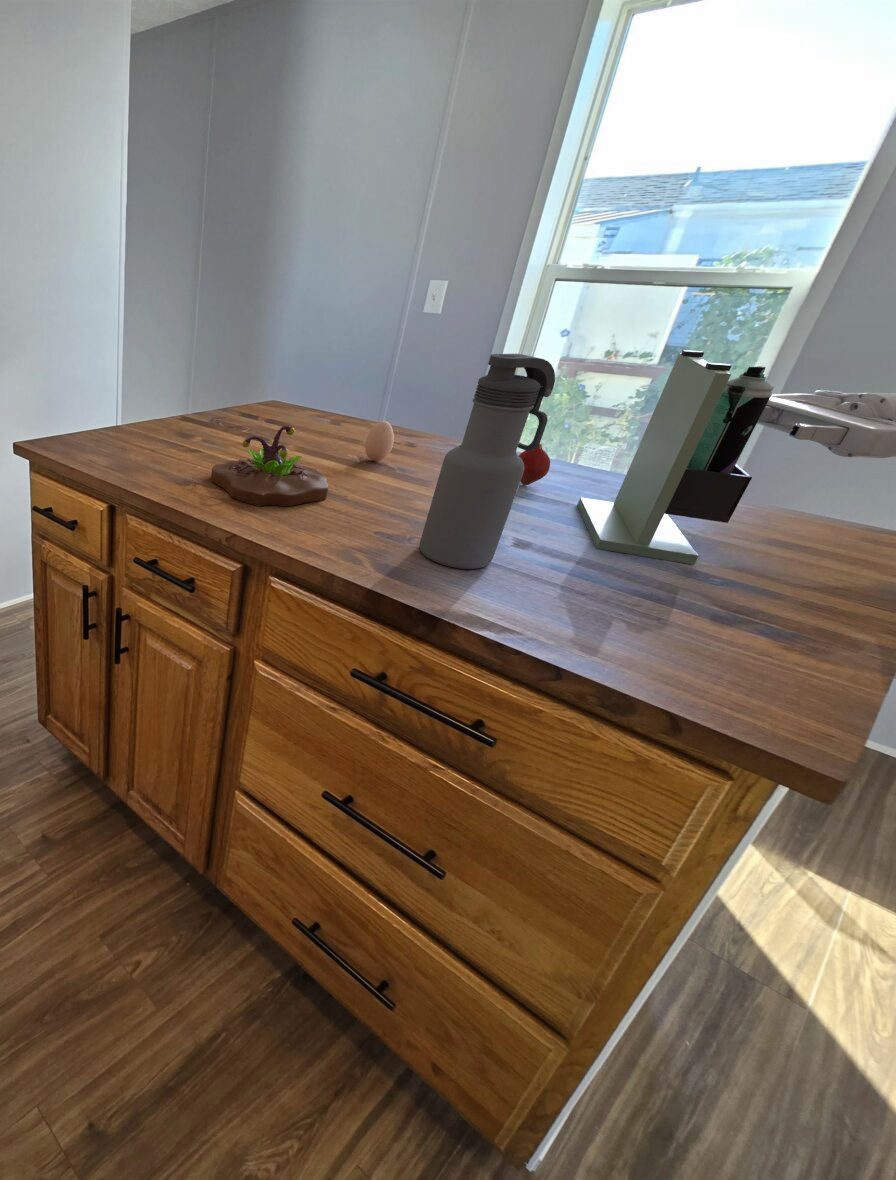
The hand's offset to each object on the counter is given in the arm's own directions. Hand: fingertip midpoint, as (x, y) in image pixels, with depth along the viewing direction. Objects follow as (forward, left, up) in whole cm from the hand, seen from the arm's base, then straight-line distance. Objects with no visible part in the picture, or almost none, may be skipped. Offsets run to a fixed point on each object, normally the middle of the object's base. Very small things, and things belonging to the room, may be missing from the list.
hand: (766, 422), depth 93 cm
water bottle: (+35, +24, -19) cm, 47 cm away
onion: (+23, -17, -19) cm, 34 cm away
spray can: (+4, +1, -13) cm, 14 cm away
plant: (+66, +7, -19) cm, 69 cm away
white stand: (+8, +1, -19) cm, 20 cm away
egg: (+50, -19, -19) cm, 57 cm away
